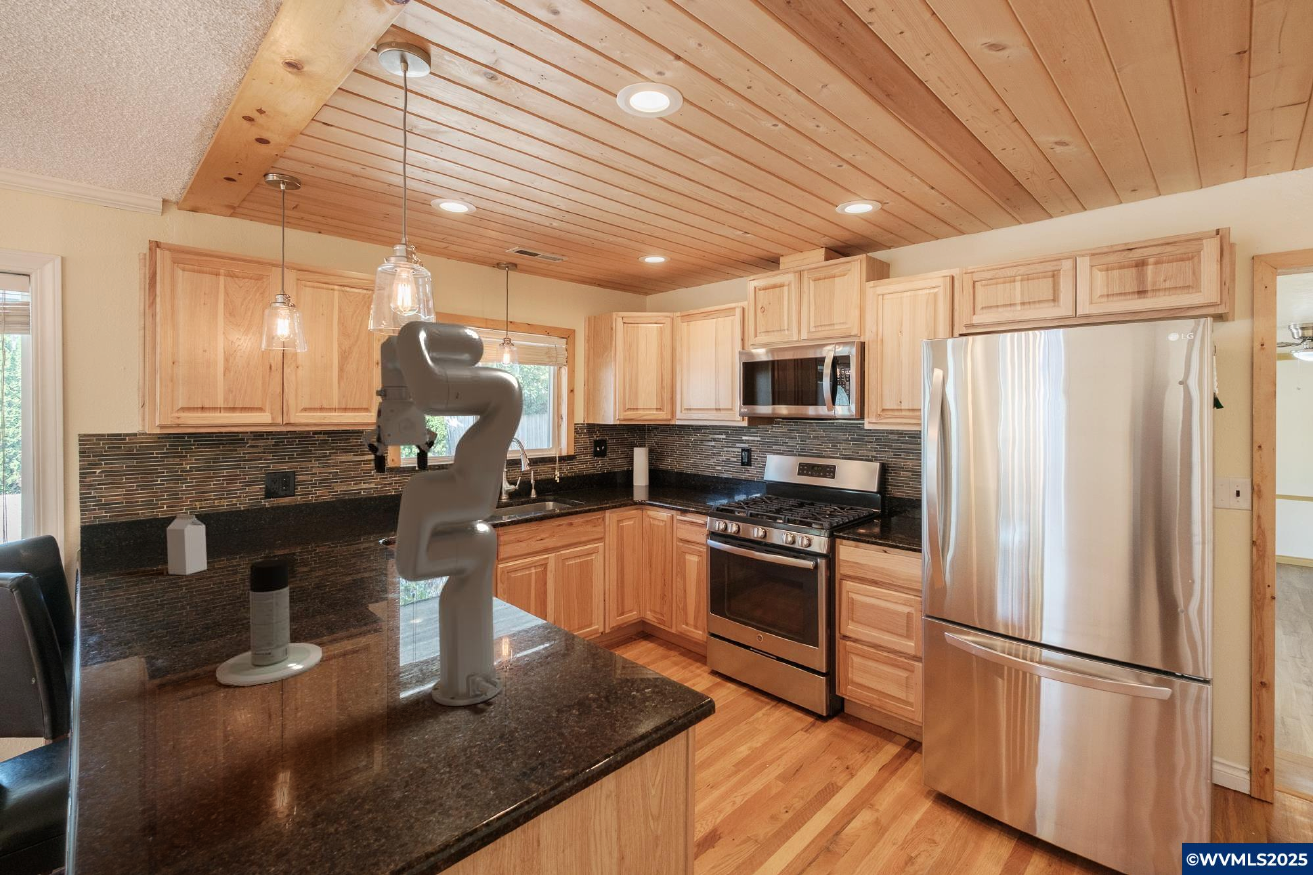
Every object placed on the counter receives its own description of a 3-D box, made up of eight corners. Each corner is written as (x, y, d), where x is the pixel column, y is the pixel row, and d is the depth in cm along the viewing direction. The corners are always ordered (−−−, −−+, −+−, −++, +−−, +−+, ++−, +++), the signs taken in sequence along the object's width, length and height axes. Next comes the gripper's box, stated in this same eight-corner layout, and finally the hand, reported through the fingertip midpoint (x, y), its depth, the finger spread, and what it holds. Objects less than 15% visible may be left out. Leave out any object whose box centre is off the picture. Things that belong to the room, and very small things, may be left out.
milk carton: (186, 575, 189) (183, 516, 188) (168, 574, 190) (165, 516, 189) (207, 569, 196) (204, 513, 195) (189, 568, 197) (187, 512, 196)
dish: (336, 662, 121) (336, 656, 121) (232, 695, 107) (232, 688, 107) (302, 641, 132) (302, 636, 132) (204, 669, 118) (204, 662, 118)
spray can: (283, 650, 124) (281, 557, 123) (295, 659, 120) (293, 562, 119) (246, 660, 119) (244, 563, 118) (257, 670, 115) (255, 569, 114)
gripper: (369, 394, 123) (371, 475, 124) (444, 396, 137) (445, 469, 137) (353, 395, 128) (355, 473, 129) (427, 396, 141) (428, 467, 142)
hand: (402, 471), depth 133 cm, fingers open, 9 cm apart
